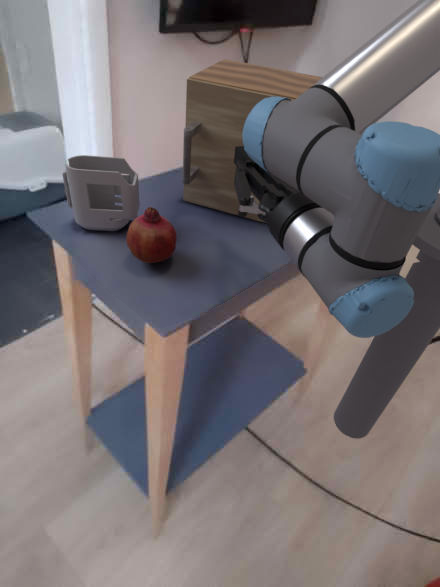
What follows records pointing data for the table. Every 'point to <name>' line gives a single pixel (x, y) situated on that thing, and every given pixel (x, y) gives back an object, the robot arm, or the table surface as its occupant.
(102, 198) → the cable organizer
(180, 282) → the table surface
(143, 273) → the table surface
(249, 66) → the cupboard
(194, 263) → the table surface
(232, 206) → the cupboard door
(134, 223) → the fruit
